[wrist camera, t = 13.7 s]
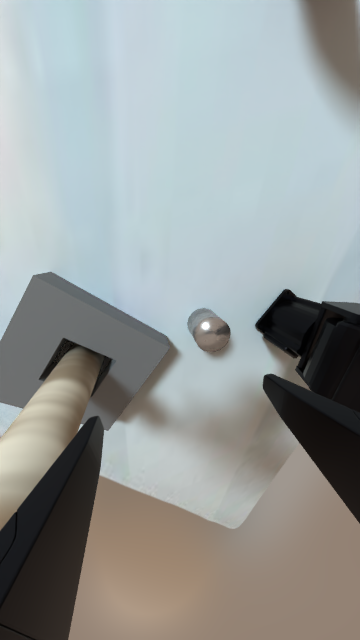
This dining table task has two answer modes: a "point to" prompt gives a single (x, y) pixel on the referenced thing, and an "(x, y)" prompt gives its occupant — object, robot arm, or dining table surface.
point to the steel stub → (208, 330)
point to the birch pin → (45, 426)
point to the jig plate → (84, 329)
